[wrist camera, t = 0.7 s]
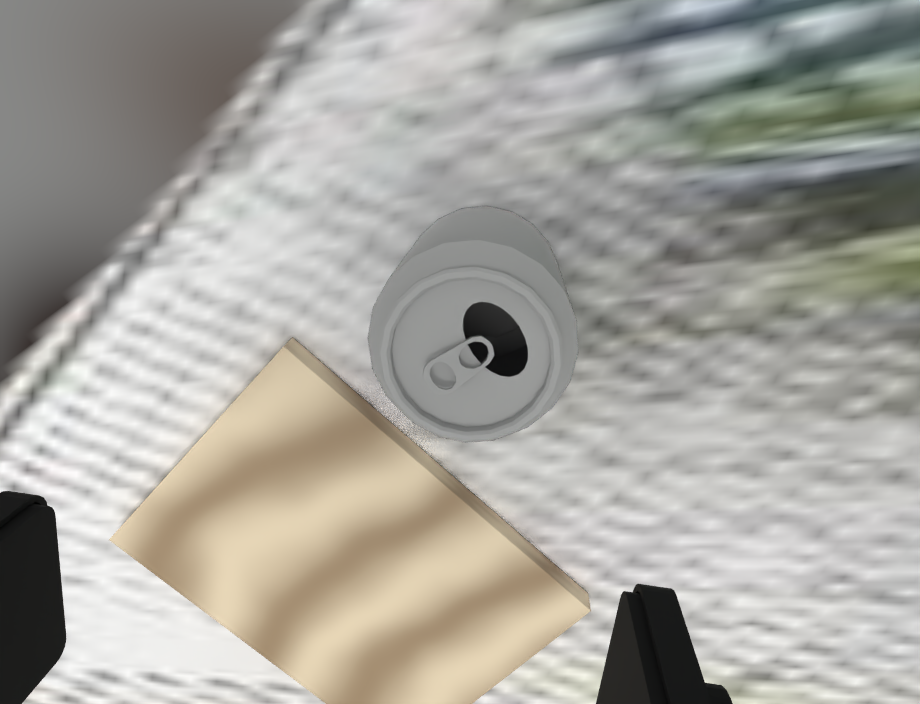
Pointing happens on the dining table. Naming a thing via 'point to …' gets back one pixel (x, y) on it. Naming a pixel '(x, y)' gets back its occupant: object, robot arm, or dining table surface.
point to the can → (475, 327)
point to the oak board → (347, 549)
